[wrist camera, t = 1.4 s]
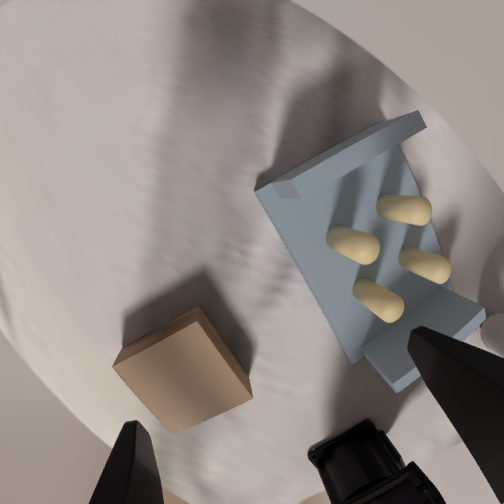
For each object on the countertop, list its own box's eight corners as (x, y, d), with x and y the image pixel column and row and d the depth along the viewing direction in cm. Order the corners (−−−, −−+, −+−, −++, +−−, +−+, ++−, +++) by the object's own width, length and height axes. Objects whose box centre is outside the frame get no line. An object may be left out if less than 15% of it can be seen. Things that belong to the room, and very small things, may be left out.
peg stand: (348, 358, 22) (383, 402, 16) (254, 191, 19) (271, 191, 13) (445, 286, 22) (495, 309, 16) (378, 122, 19) (429, 104, 13)
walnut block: (175, 409, 22) (172, 434, 19) (123, 345, 20) (112, 366, 18) (248, 374, 22) (253, 398, 19) (199, 303, 20) (196, 321, 18)
